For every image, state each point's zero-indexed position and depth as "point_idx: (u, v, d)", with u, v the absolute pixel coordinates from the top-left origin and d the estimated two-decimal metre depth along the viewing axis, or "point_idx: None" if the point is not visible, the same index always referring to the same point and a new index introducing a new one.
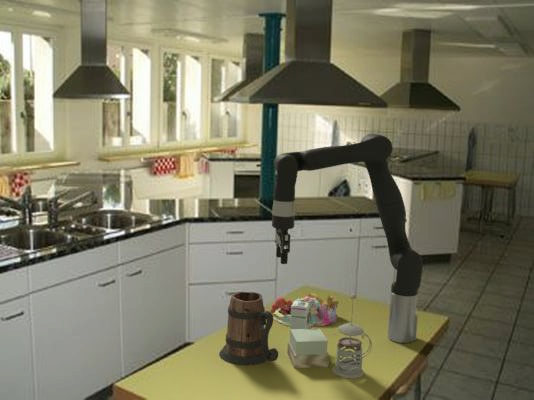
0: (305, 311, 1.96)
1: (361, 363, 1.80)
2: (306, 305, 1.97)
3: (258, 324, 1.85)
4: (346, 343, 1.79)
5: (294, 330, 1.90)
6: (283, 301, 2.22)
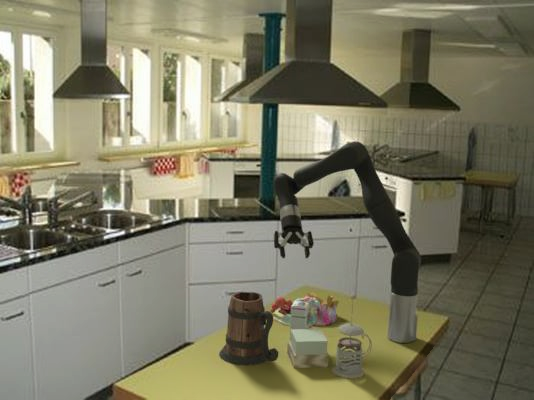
0: (305, 311, 1.96)
1: (361, 363, 1.80)
2: (306, 305, 1.97)
3: (258, 324, 1.85)
4: (346, 343, 1.79)
5: (294, 330, 1.90)
6: (283, 301, 2.22)
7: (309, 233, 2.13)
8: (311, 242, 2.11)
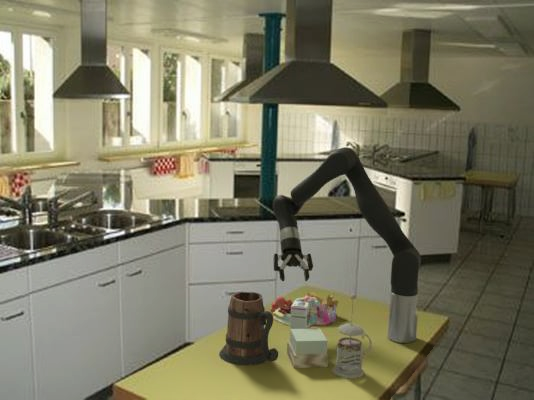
0: (305, 311, 1.96)
1: (361, 363, 1.80)
2: (306, 305, 1.97)
3: (258, 324, 1.85)
4: (346, 343, 1.79)
5: (294, 329, 1.90)
6: (283, 300, 2.22)
7: (309, 255, 2.14)
8: (310, 265, 2.11)
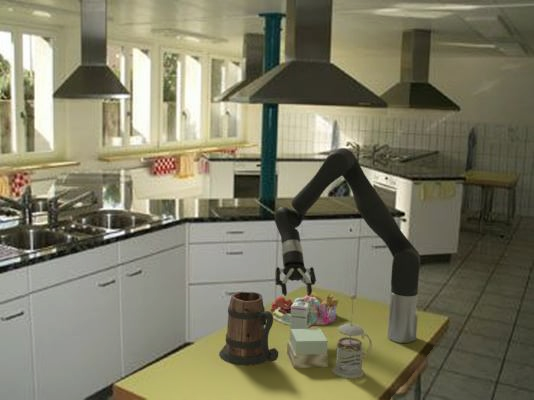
0: (305, 311, 1.96)
1: (361, 363, 1.80)
2: (306, 305, 1.97)
3: (258, 324, 1.85)
4: (346, 343, 1.79)
5: (294, 329, 1.90)
6: (283, 300, 2.23)
7: (311, 269, 2.09)
8: (313, 279, 2.07)
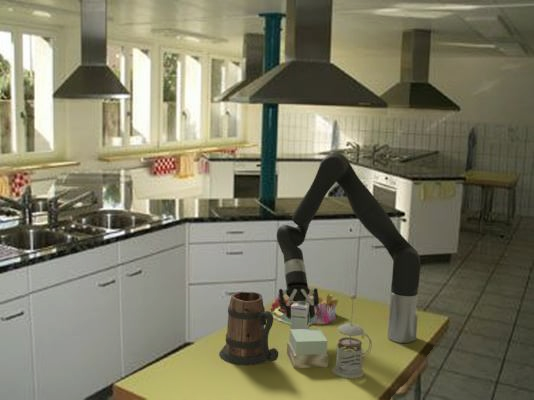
0: (305, 311, 1.96)
1: (361, 363, 1.80)
2: (306, 305, 1.97)
3: (258, 324, 1.85)
4: (346, 343, 1.79)
5: (294, 330, 1.90)
6: None
7: (315, 290, 2.03)
8: (316, 301, 2.01)
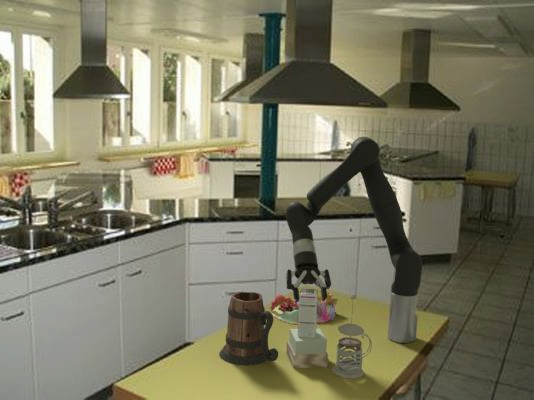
0: (315, 299, 1.82)
1: (361, 363, 1.80)
2: (315, 293, 1.83)
3: (258, 324, 1.85)
4: (346, 343, 1.79)
5: (294, 329, 1.90)
6: (282, 298, 2.25)
7: (326, 272, 1.89)
8: (328, 282, 1.87)
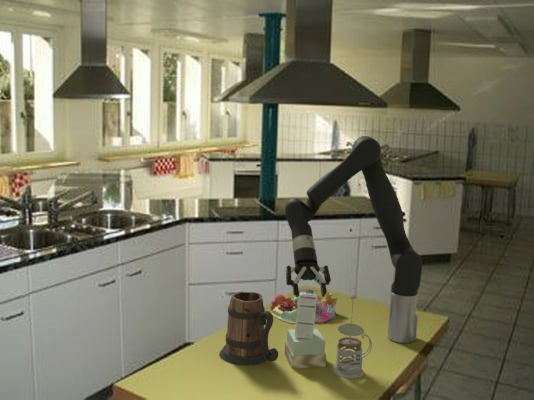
0: (315, 300, 1.81)
1: (361, 363, 1.80)
2: (315, 294, 1.82)
3: (258, 324, 1.85)
4: (346, 343, 1.79)
5: (291, 330, 1.90)
6: (282, 298, 2.25)
7: (325, 268, 1.90)
8: (328, 278, 1.88)
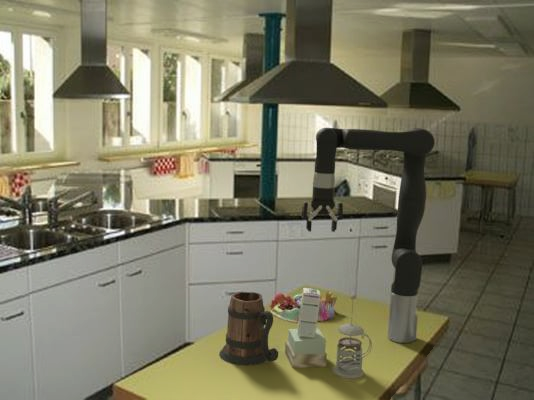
0: (318, 299, 1.82)
1: (361, 363, 1.80)
2: (318, 293, 1.84)
3: (258, 324, 1.85)
4: (346, 343, 1.79)
5: (293, 329, 1.91)
6: (282, 297, 2.27)
7: (340, 205, 2.02)
8: (340, 216, 2.03)
